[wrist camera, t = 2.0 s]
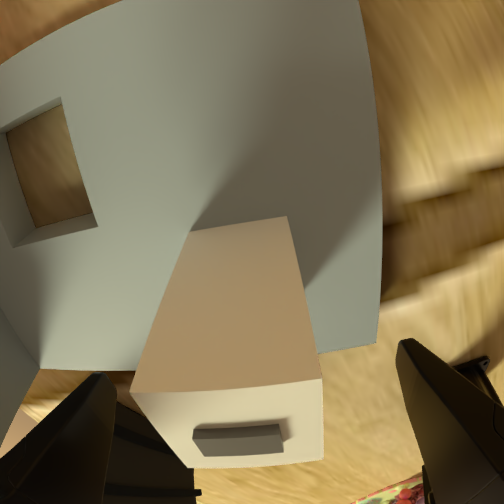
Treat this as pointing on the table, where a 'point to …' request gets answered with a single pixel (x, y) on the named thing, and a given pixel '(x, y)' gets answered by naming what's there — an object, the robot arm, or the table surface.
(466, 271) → the table surface
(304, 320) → the block
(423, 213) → the table surface
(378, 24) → the table surface
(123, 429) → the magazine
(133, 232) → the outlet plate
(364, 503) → the candy landscape model
